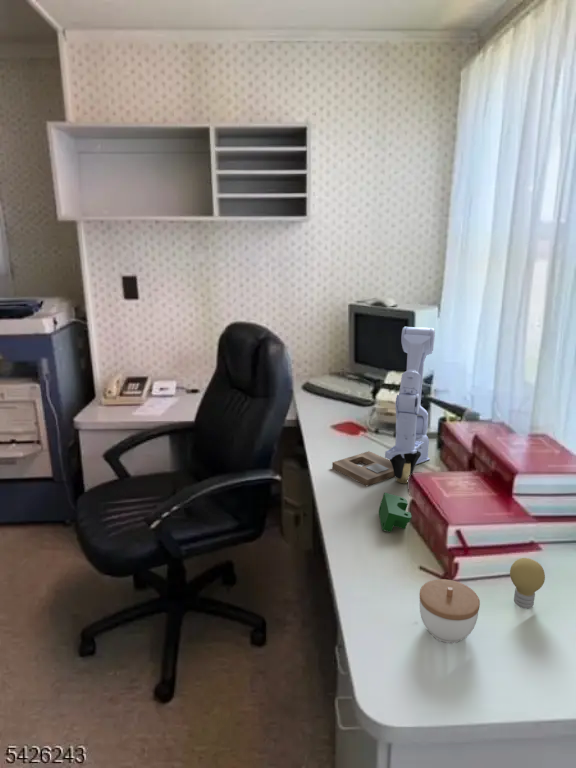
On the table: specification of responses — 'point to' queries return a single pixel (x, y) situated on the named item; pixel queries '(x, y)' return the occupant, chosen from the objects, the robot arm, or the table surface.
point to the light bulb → (526, 581)
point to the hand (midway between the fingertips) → (403, 475)
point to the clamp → (393, 512)
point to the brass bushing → (405, 472)
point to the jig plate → (365, 468)
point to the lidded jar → (448, 609)
